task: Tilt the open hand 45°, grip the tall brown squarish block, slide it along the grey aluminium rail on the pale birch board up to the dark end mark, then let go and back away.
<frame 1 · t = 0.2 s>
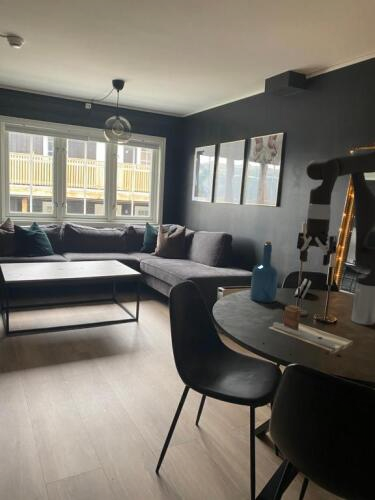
hand: (314, 263, 135), 29 cm above the table, tool pointing down, fingers open, 8 cm apart
brown squarish block: (290, 329, 148), point 1 cm above the table, touching board
rail: (301, 340, 141), resting on board
board: (308, 338, 144), on the table
wine bottle: (262, 300, 195), on the table
hinge: (302, 295, 212), on the table
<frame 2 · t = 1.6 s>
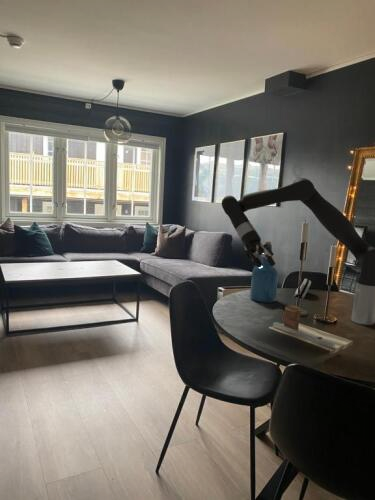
hand: (267, 266, 157), 24 cm above the table, tool tilted 45°, fingers open, 8 cm apart
nothing on the table moved.
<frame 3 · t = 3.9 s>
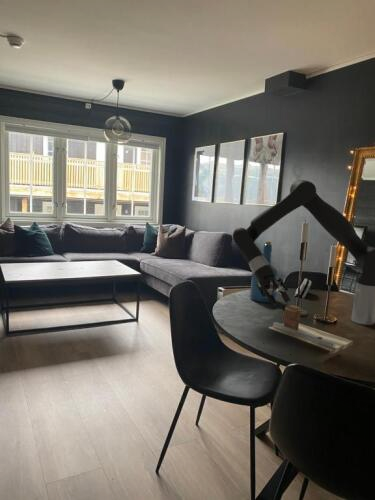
hand: (281, 303, 151), 11 cm above the table, tool tilted 45°, fingers open, 8 cm apart
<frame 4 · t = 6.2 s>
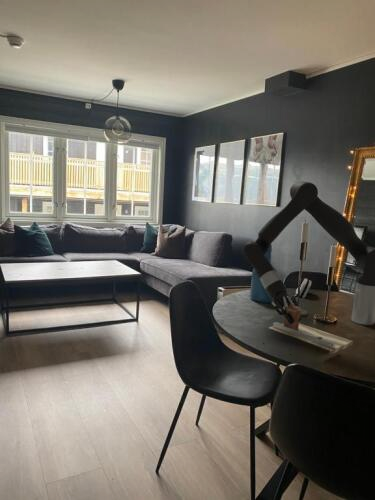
hand: (296, 322, 146), 5 cm above the table, tool tilted 45°, fingers closed on brown squarish block, 4 cm apart
brown squarish block: (290, 329, 148), point 2 cm above the table, touching board, gripper
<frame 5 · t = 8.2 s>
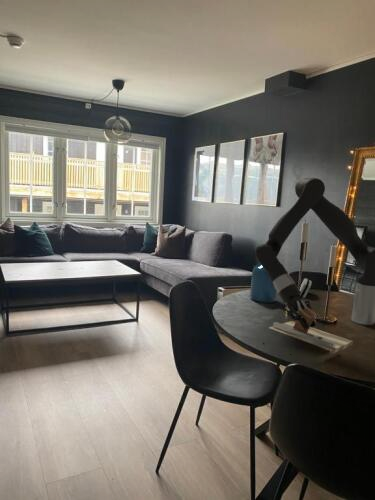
hand: (310, 327, 141), 5 cm above the table, tool tilted 45°, fingers closed on brown squarish block, 4 cm apart
brown squarish block: (299, 330, 145), point 2 cm above the table, tilted 20°, touching gripper
when the fingers open (5 cm above the table, at t = 10.3 s): brown squarish block stays where it is, resting on board.
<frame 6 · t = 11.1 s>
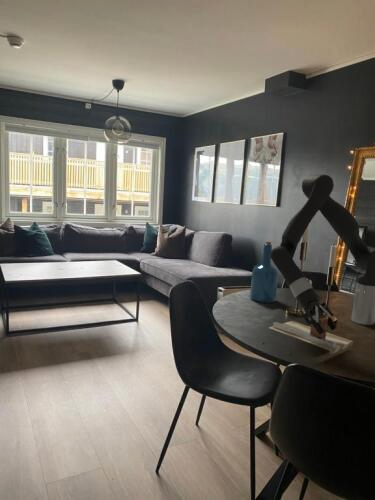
hand: (328, 331, 136), 6 cm above the table, tool tilted 45°, fingers open, 8 cm apart
brown squarish block: (317, 338, 139), point 2 cm above the table, touching board
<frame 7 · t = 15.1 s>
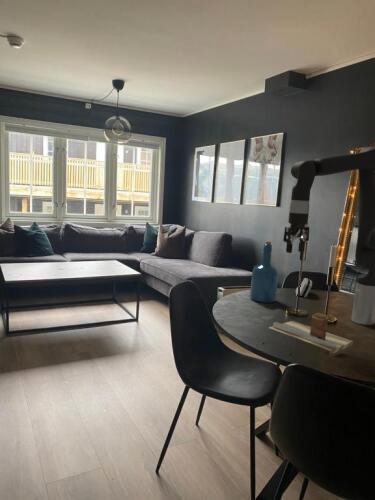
hand: (295, 252, 155), 30 cm above the table, tool pointing down, fingers open, 8 cm apart
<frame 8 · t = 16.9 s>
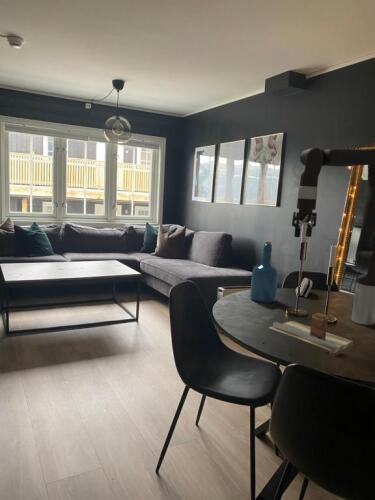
hand: (302, 236, 160), 36 cm above the table, tool pointing down, fingers open, 8 cm apart
at the end: brown squarish block 2.9 cm from the target spot on the board, point 1.5 cm above the board's base; brown squarish block tilted 0°; the gripper is holding nothing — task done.
